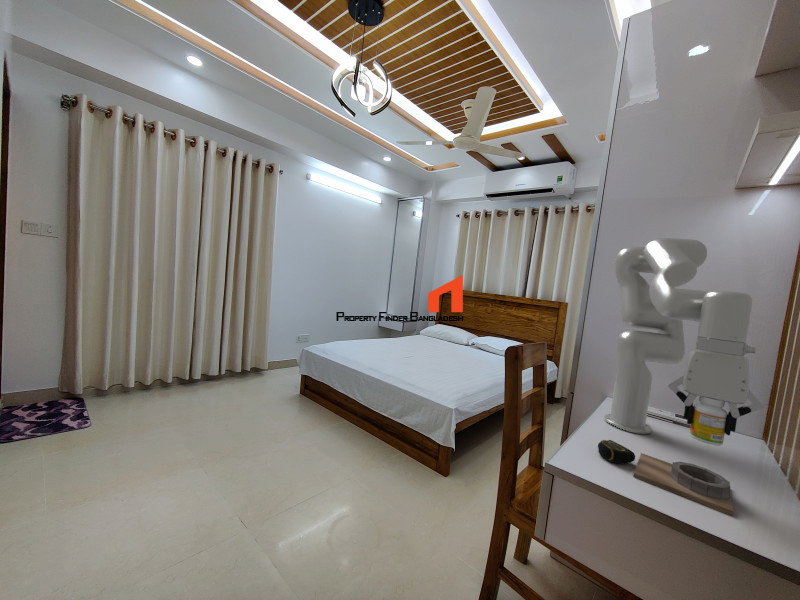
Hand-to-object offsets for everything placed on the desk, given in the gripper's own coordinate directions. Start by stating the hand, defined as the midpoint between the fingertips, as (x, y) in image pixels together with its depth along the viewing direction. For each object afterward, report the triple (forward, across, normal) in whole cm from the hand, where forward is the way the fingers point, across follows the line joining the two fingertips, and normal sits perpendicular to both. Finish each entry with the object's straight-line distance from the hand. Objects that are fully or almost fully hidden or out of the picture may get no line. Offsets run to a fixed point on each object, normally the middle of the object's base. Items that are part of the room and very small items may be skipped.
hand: (707, 427), depth 70 cm
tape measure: (+15, +16, 0) cm, 22 cm away
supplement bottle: (+3, 0, 0) cm, 3 cm away
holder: (+14, +3, 0) cm, 15 cm away
